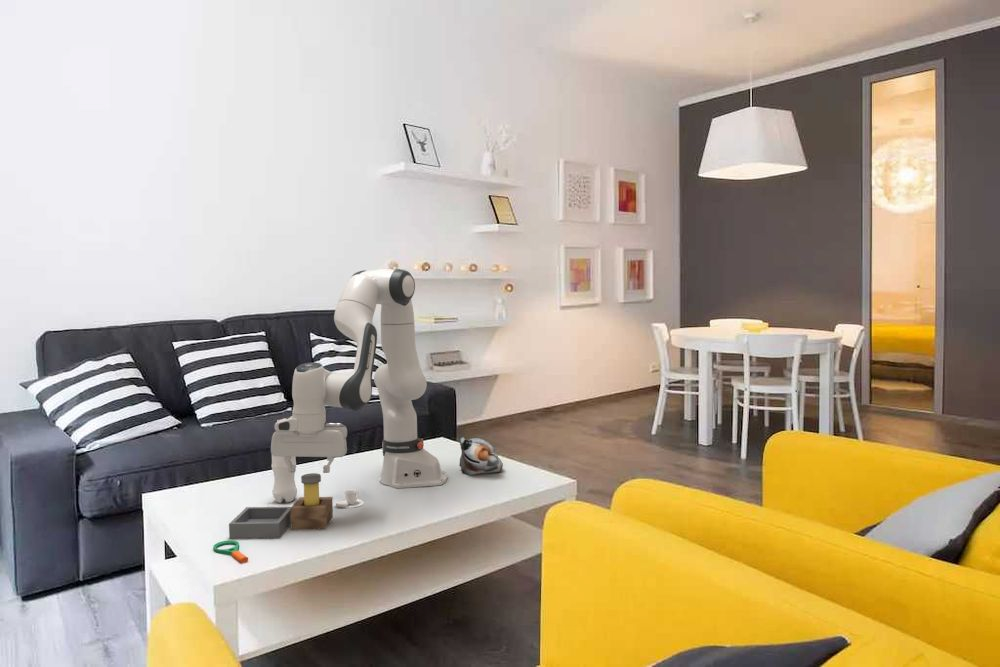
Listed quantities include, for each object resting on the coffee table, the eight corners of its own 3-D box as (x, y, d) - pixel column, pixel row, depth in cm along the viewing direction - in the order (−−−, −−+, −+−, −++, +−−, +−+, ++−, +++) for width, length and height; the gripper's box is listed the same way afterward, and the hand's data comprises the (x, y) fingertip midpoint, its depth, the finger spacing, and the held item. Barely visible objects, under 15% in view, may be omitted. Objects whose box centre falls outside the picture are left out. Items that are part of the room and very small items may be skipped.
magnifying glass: (209, 549, 174) (209, 542, 174) (233, 542, 178) (233, 536, 178) (231, 567, 163) (231, 560, 163) (256, 560, 167) (256, 553, 167)
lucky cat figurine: (511, 469, 242) (511, 436, 234) (487, 492, 234) (486, 459, 225) (474, 449, 251) (472, 417, 242) (450, 471, 242) (447, 438, 234)
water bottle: (290, 495, 216) (287, 416, 214) (301, 500, 211) (299, 420, 208) (268, 500, 211) (265, 420, 209) (279, 506, 206) (276, 423, 203)
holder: (332, 517, 196) (332, 496, 195) (325, 529, 186) (324, 507, 186) (300, 517, 195) (299, 497, 195) (291, 529, 186) (290, 508, 186)
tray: (293, 520, 193) (292, 506, 193) (279, 538, 180) (278, 523, 180) (246, 521, 193) (246, 507, 193) (229, 538, 180) (228, 523, 180)
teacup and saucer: (337, 511, 202) (337, 497, 202) (332, 503, 209) (332, 490, 209) (367, 507, 205) (366, 493, 205) (361, 499, 213) (360, 486, 212)
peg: (324, 520, 193) (322, 473, 192) (319, 526, 188) (318, 478, 187) (305, 520, 193) (304, 473, 192) (300, 527, 188) (298, 478, 187)
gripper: (349, 420, 192) (349, 469, 193) (275, 419, 191) (276, 468, 192) (344, 425, 185) (344, 475, 186) (268, 424, 185) (268, 474, 186)
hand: (309, 472), depth 189 cm, fingers open, 8 cm apart
